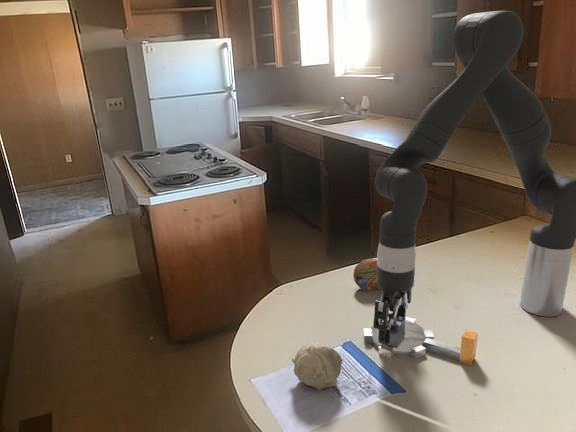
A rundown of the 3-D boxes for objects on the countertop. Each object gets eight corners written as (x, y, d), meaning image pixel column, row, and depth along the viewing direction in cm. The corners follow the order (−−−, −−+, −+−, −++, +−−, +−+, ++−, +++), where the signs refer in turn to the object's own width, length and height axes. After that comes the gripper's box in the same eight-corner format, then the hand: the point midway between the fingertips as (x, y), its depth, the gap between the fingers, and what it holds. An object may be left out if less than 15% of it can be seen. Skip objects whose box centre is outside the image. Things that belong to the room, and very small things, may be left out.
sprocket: (381, 317, 117) (381, 309, 116) (440, 334, 109) (441, 326, 109) (353, 347, 105) (353, 338, 105) (417, 368, 98) (418, 359, 97)
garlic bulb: (339, 393, 95) (358, 355, 91) (309, 408, 89) (328, 368, 85) (308, 360, 100) (324, 323, 96) (278, 372, 95) (294, 333, 90)
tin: (356, 293, 129) (356, 264, 126) (351, 288, 132) (352, 259, 129) (407, 285, 132) (409, 256, 130) (401, 280, 135) (403, 252, 133)
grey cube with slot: (386, 333, 106) (387, 312, 105) (404, 338, 104) (405, 317, 103) (379, 342, 103) (380, 321, 102) (397, 348, 101) (398, 326, 99)
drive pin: (426, 343, 105) (428, 319, 103) (474, 358, 100) (478, 333, 98) (422, 350, 103) (424, 325, 101) (471, 365, 98) (474, 339, 96)
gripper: (400, 281, 90) (395, 356, 96) (426, 254, 101) (420, 323, 107) (363, 272, 94) (361, 344, 100) (392, 247, 105) (388, 314, 111)
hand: (392, 333), depth 103 cm, fingers open, 8 cm apart
